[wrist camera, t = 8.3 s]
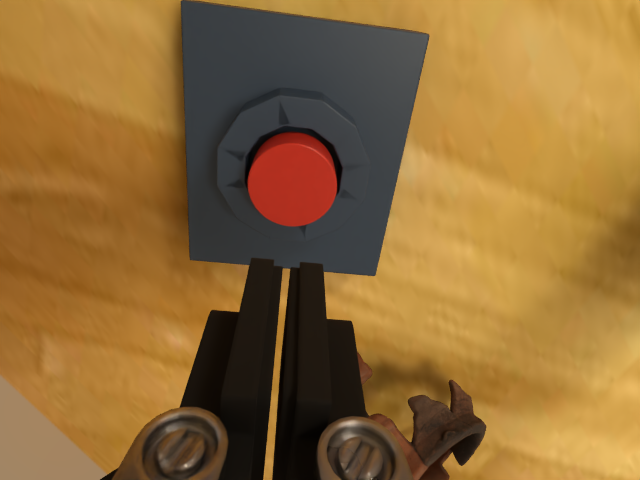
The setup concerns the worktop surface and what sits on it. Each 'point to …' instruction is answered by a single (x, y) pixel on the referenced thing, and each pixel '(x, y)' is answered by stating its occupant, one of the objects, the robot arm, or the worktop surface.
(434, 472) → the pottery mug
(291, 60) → the red push button box
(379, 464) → the robot arm
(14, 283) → the worktop surface
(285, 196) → the button
